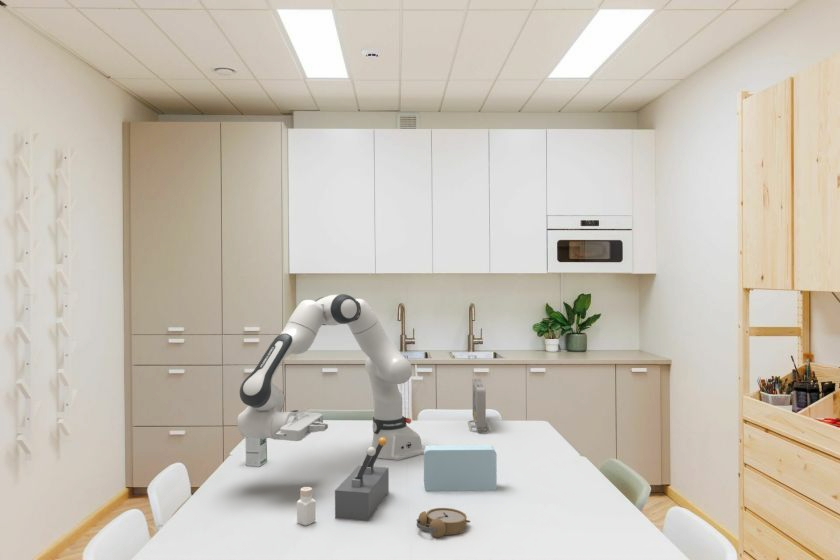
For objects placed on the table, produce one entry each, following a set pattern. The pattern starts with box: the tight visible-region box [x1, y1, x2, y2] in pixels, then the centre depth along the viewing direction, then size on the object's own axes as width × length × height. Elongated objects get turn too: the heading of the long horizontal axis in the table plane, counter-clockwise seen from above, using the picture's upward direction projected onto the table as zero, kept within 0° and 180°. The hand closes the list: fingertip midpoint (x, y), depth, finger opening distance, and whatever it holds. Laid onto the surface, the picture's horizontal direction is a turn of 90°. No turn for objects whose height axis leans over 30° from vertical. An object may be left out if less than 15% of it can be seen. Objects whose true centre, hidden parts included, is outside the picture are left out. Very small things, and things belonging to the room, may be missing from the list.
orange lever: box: [367, 437, 387, 468], centre depth 182 cm, size 3×3×12 cm
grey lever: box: [356, 446, 376, 481], centre depth 171 cm, size 3×3×12 cm
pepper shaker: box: [296, 486, 317, 526], centre depth 165 cm, size 4×4×10 cm
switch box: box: [334, 464, 390, 522], centre depth 177 cm, size 10×22×10 cm, turn 168°
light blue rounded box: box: [423, 444, 498, 492], centre depth 191 cm, size 23×6×13 cm, turn 91°
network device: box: [467, 378, 490, 433], centre depth 267 cm, size 26×9×20 cm, turn 179°
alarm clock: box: [415, 507, 471, 538], centre depth 160 cm, size 11×5×15 cm
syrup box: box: [244, 436, 268, 468], centre depth 215 cm, size 6×6×14 cm
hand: (326, 427), depth 186 cm, fingers closed
